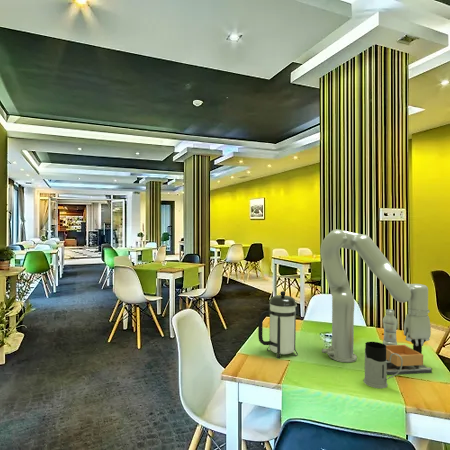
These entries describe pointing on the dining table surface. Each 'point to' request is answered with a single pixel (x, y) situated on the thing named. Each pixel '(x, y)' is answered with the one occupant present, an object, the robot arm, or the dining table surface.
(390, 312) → the plastic bottle
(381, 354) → the grey mug
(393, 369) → the grey flat slab
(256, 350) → the dining table surface
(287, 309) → the coffee press
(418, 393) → the dining table surface
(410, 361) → the orange open tray
